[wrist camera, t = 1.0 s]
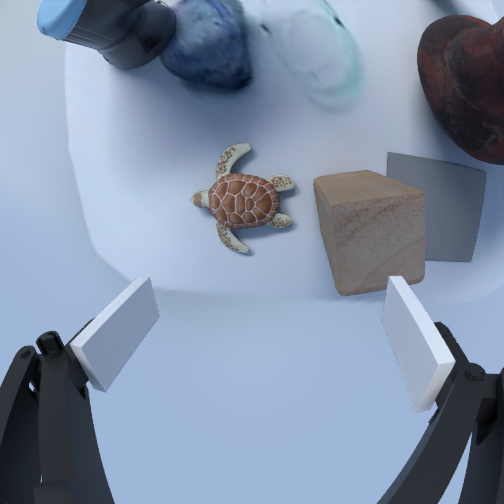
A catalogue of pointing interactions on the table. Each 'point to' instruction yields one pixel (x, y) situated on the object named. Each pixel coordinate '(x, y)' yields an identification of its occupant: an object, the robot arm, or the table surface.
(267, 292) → the table surface
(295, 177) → the table surface
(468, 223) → the mat
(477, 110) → the jug
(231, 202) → the decorative turtle
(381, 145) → the table surface
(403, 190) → the wooden block
